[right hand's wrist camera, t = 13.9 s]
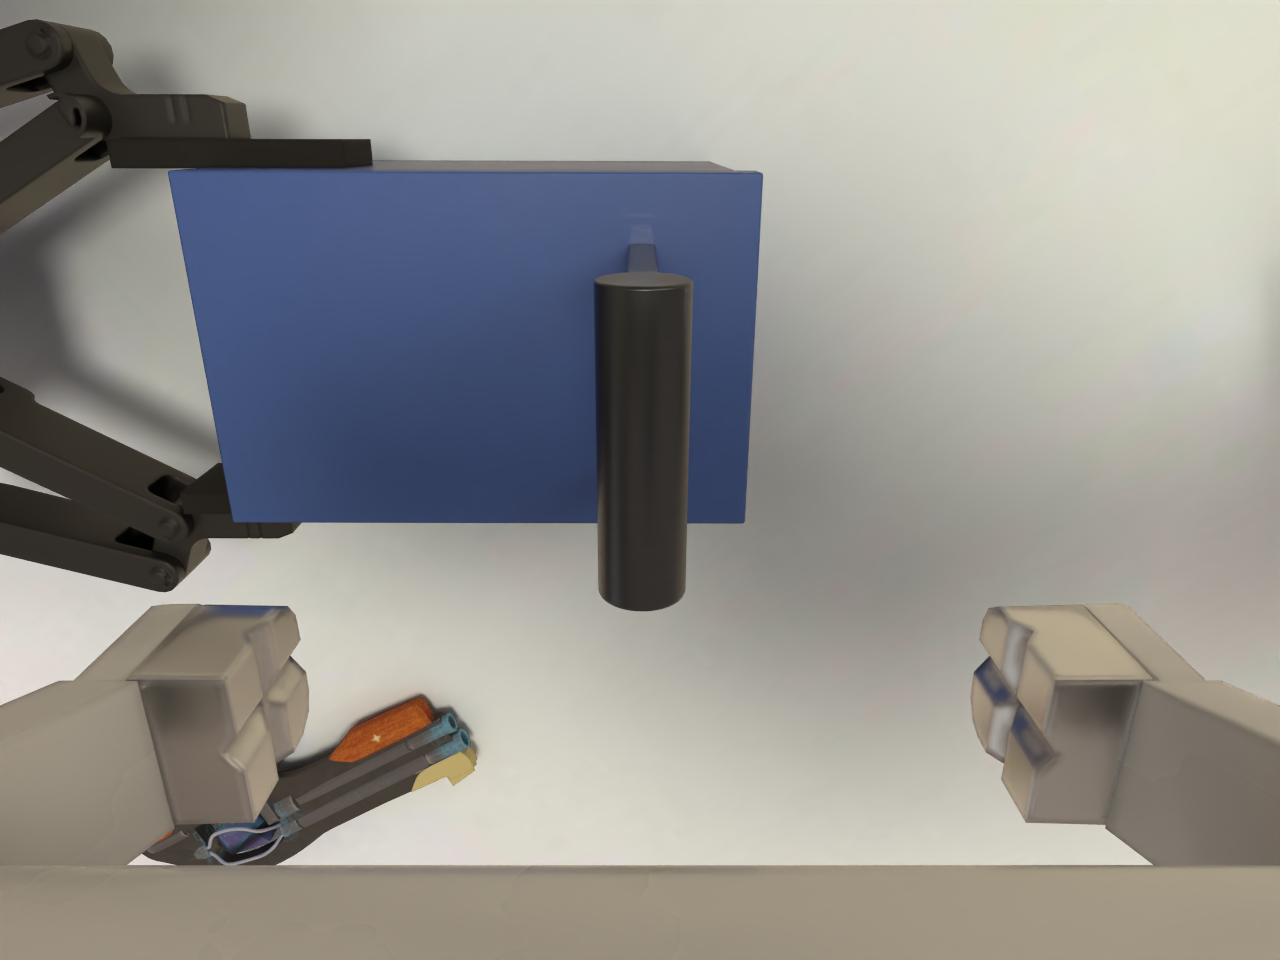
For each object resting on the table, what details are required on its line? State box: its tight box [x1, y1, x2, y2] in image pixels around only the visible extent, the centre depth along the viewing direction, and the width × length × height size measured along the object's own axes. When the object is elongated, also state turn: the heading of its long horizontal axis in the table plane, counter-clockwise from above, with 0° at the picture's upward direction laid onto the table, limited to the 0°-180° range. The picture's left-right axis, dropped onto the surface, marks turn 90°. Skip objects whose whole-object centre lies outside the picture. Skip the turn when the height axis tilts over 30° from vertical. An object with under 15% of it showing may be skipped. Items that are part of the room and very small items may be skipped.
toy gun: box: [142, 698, 477, 865], centre depth 40 cm, size 3×19×10 cm
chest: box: [196, 160, 734, 171], centre depth 29 cm, size 15×10×9 cm
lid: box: [168, 169, 763, 611], centre depth 21 cm, size 15×10×9 cm, turn 90°
